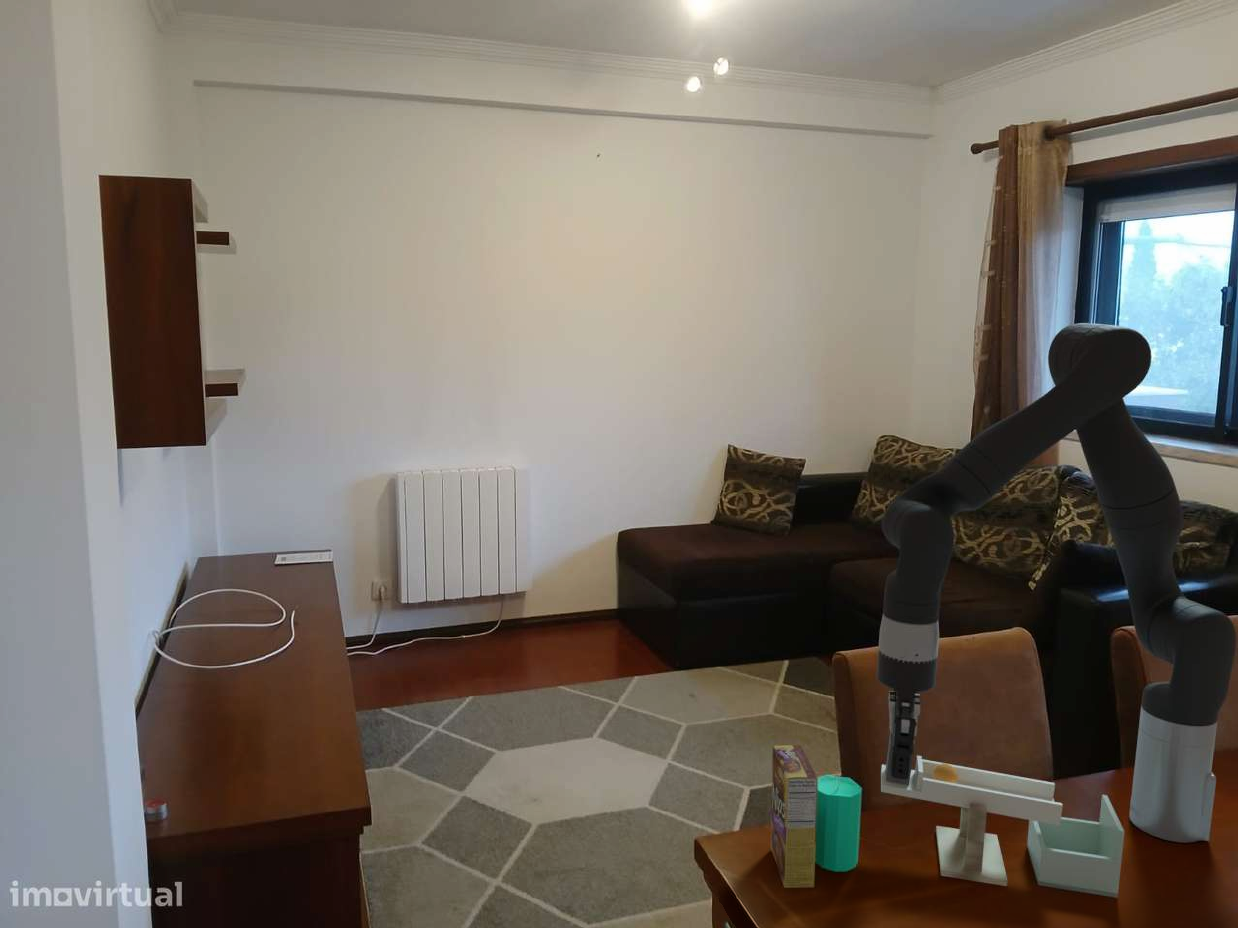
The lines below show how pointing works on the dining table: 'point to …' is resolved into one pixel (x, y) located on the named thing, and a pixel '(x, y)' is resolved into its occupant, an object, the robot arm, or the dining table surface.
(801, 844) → the candy box
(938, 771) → the ball
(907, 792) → the board
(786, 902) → the dining table surface
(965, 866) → the lever stand
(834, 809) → the candle
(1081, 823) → the cup
